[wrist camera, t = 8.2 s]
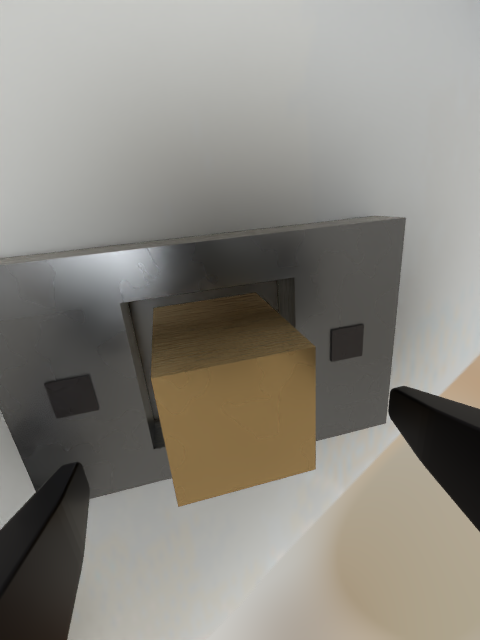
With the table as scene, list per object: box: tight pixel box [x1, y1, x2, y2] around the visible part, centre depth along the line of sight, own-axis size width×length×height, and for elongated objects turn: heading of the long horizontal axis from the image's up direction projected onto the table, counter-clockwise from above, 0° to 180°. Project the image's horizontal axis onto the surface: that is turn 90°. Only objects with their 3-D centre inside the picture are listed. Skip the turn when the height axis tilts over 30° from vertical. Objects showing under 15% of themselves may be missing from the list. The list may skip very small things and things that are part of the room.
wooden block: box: [151, 292, 316, 507], centre depth 12 cm, size 4×4×6 cm
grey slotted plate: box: [0, 216, 406, 499], centre depth 14 cm, size 10×16×2 cm, turn 96°
